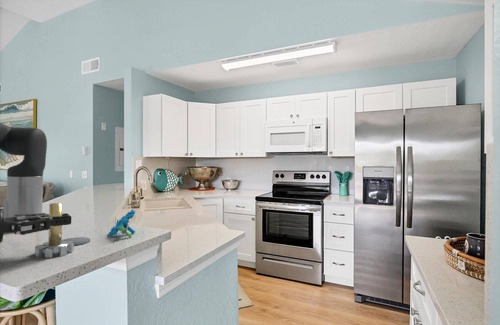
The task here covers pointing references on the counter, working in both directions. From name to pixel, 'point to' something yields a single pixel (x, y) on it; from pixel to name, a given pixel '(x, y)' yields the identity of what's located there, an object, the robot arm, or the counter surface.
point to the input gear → (54, 238)
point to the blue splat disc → (123, 225)
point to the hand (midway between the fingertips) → (69, 218)
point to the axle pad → (78, 240)
